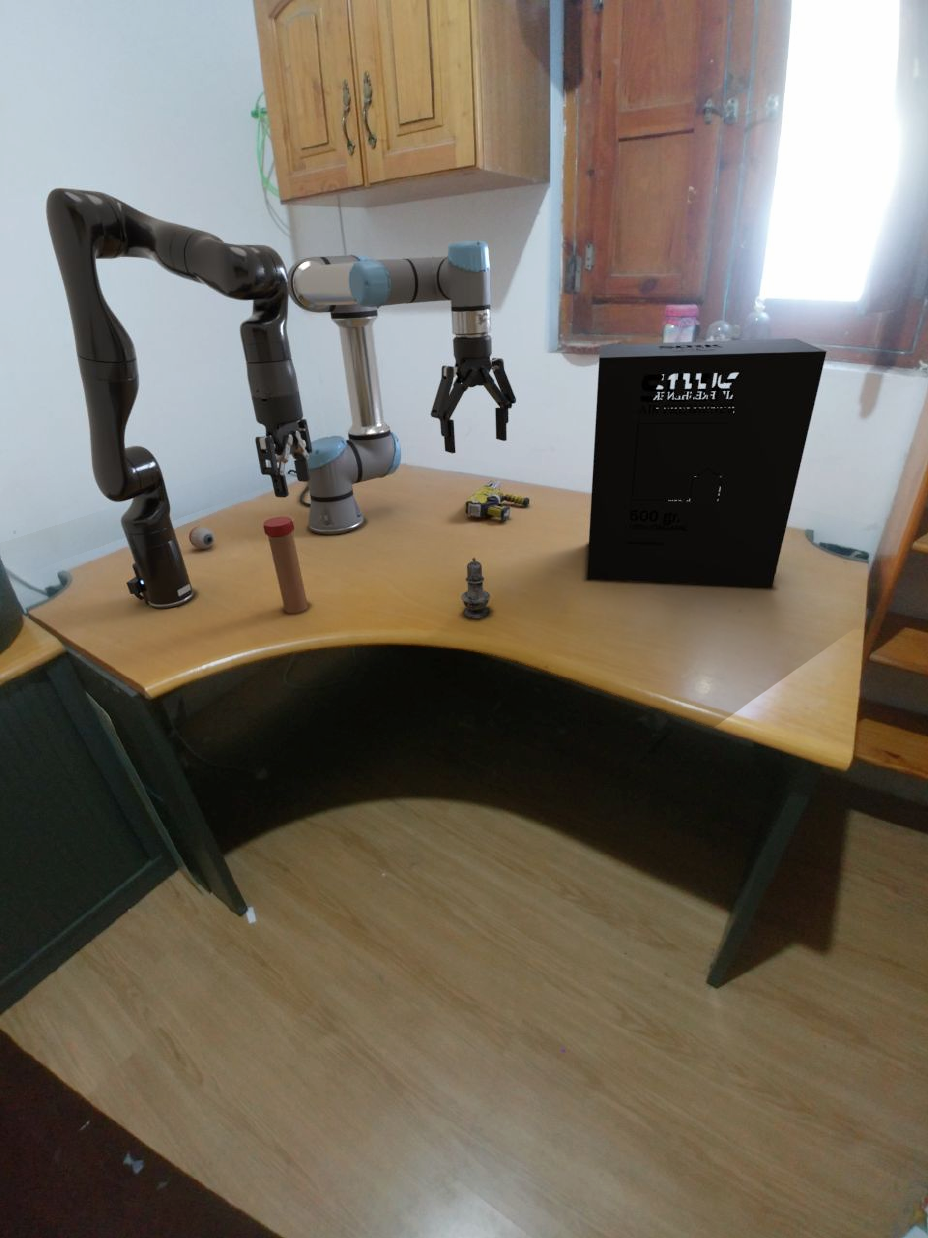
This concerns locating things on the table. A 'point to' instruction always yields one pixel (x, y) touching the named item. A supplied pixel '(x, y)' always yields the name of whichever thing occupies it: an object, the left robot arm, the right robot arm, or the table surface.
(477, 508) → the toy gun
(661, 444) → the cardboard box
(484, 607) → the dark grey tiered figure
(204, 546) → the eyeball
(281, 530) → the lid
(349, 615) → the table surface
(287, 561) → the jar
